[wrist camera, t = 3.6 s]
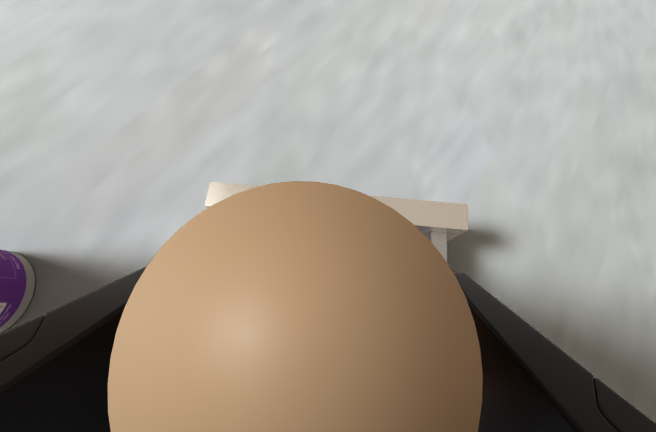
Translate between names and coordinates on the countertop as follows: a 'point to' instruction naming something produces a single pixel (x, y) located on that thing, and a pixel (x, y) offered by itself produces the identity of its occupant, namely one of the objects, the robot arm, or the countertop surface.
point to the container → (14, 287)
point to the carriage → (296, 323)
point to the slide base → (427, 216)
